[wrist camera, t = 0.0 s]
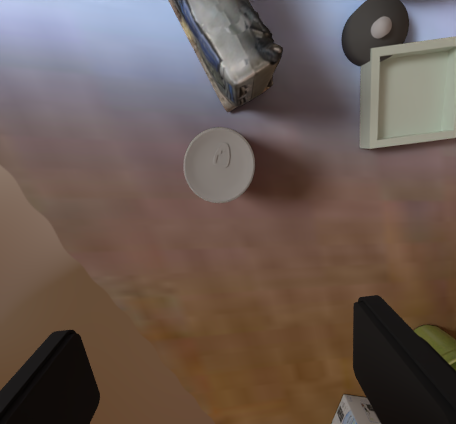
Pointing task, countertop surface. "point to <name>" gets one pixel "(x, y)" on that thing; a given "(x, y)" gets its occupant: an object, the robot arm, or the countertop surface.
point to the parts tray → (408, 94)
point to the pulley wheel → (374, 29)
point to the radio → (230, 47)
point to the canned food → (219, 165)
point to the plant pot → (439, 342)
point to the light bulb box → (355, 411)
